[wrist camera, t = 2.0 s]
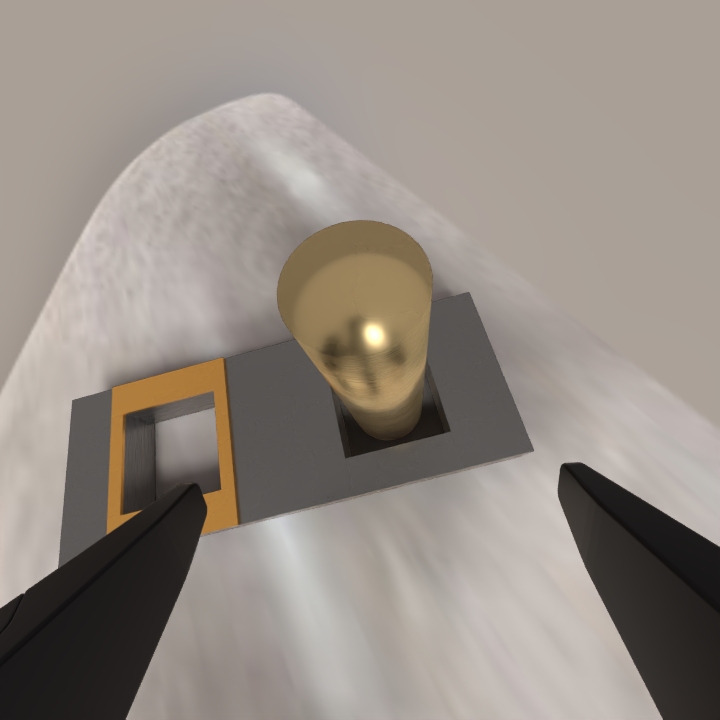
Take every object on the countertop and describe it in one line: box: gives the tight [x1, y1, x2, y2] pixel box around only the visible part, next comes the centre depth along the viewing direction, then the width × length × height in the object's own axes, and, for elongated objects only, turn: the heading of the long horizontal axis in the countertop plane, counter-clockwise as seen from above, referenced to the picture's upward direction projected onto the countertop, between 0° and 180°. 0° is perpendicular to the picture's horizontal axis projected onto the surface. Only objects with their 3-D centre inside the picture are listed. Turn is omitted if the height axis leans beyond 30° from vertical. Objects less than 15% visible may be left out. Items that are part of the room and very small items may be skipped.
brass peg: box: [277, 220, 433, 440], centre depth 15 cm, size 4×4×13 cm
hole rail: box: [58, 292, 534, 568], centre depth 20 cm, size 24×9×3 cm, turn 103°
